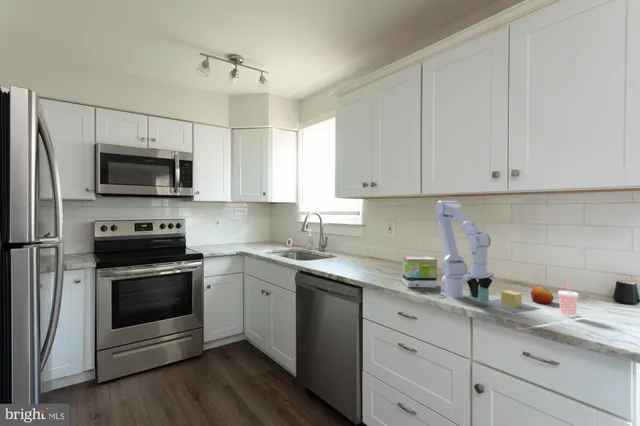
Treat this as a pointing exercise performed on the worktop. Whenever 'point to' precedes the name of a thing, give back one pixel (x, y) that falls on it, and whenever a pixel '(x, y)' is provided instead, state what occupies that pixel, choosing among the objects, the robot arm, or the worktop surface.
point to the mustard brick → (511, 298)
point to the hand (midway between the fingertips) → (478, 296)
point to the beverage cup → (568, 302)
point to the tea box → (419, 271)
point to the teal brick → (480, 295)
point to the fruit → (541, 295)
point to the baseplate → (512, 309)
